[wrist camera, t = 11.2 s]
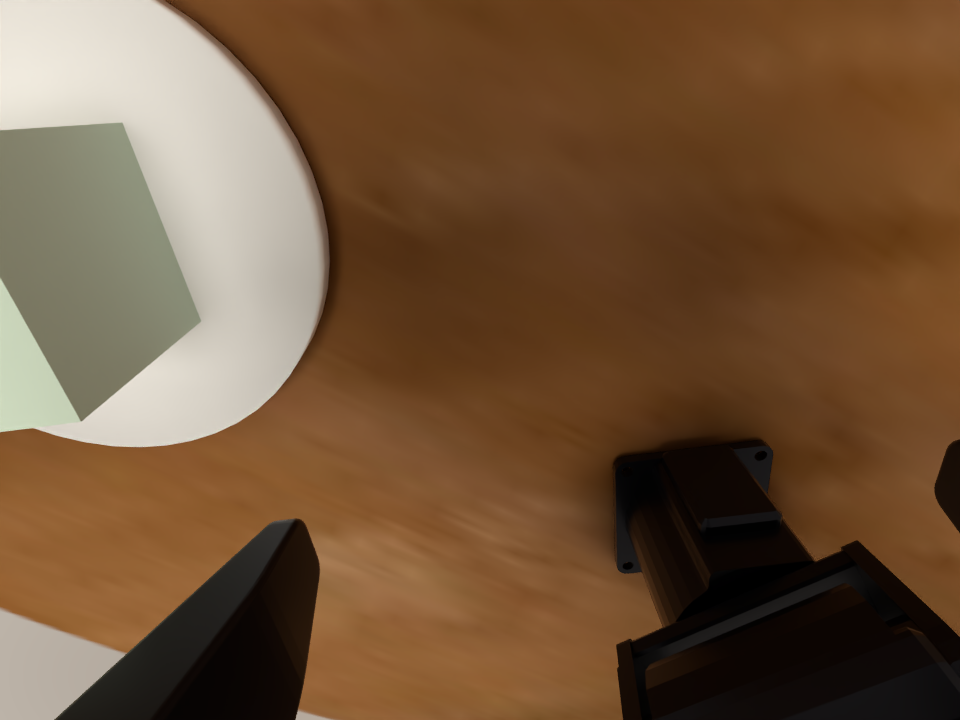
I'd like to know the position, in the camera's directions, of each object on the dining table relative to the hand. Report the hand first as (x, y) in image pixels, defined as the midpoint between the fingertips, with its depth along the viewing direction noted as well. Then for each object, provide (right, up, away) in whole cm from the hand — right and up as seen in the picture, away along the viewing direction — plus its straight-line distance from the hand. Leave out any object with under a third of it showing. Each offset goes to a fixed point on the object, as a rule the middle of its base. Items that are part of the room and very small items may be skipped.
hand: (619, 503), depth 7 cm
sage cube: (-14, +6, +9) cm, 18 cm away
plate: (-15, +6, +10) cm, 19 cm away
